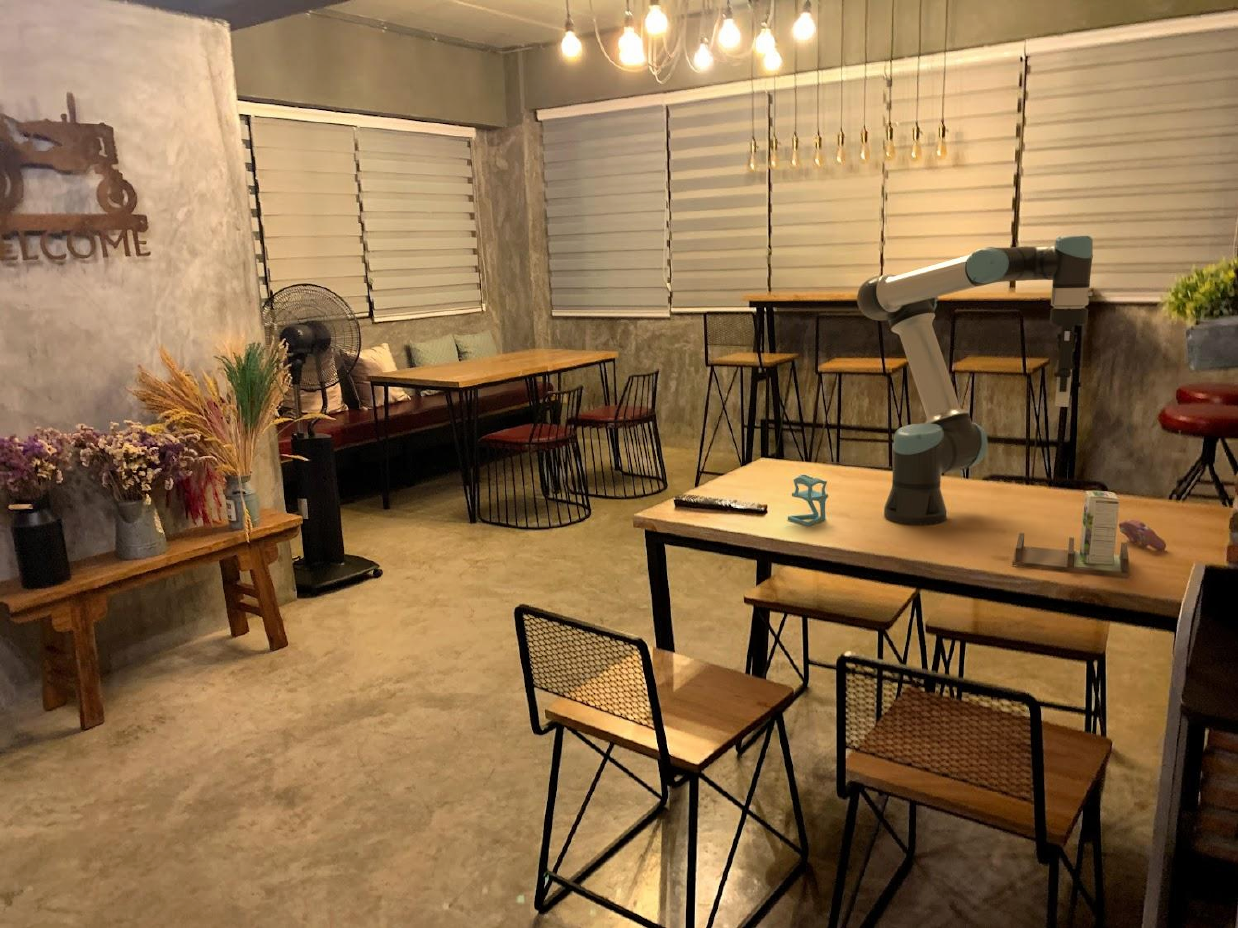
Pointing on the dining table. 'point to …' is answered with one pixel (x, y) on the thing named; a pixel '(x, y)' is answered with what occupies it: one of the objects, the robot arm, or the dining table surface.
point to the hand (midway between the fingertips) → (1062, 402)
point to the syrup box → (1099, 527)
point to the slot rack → (1069, 560)
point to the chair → (810, 499)
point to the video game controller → (1141, 534)
